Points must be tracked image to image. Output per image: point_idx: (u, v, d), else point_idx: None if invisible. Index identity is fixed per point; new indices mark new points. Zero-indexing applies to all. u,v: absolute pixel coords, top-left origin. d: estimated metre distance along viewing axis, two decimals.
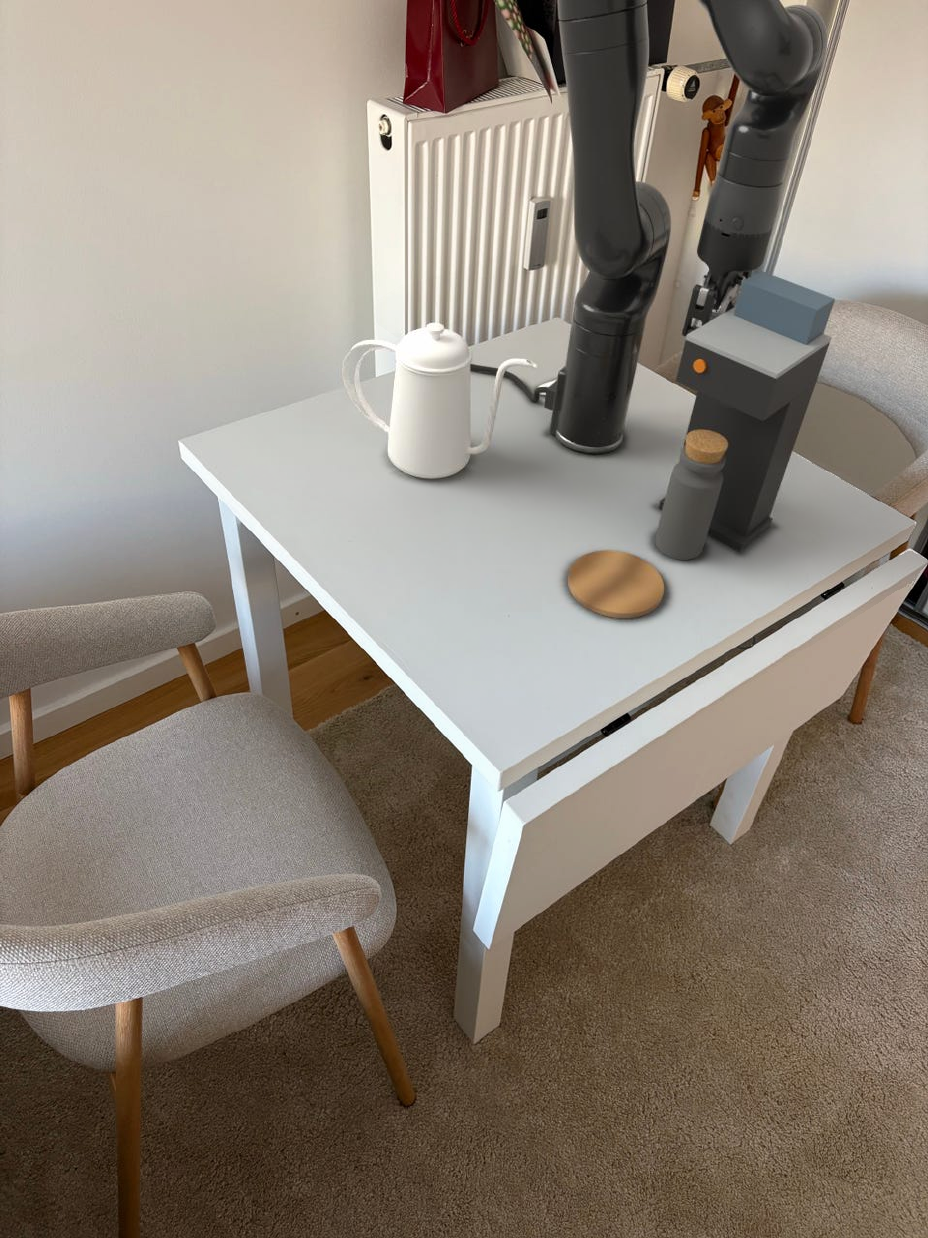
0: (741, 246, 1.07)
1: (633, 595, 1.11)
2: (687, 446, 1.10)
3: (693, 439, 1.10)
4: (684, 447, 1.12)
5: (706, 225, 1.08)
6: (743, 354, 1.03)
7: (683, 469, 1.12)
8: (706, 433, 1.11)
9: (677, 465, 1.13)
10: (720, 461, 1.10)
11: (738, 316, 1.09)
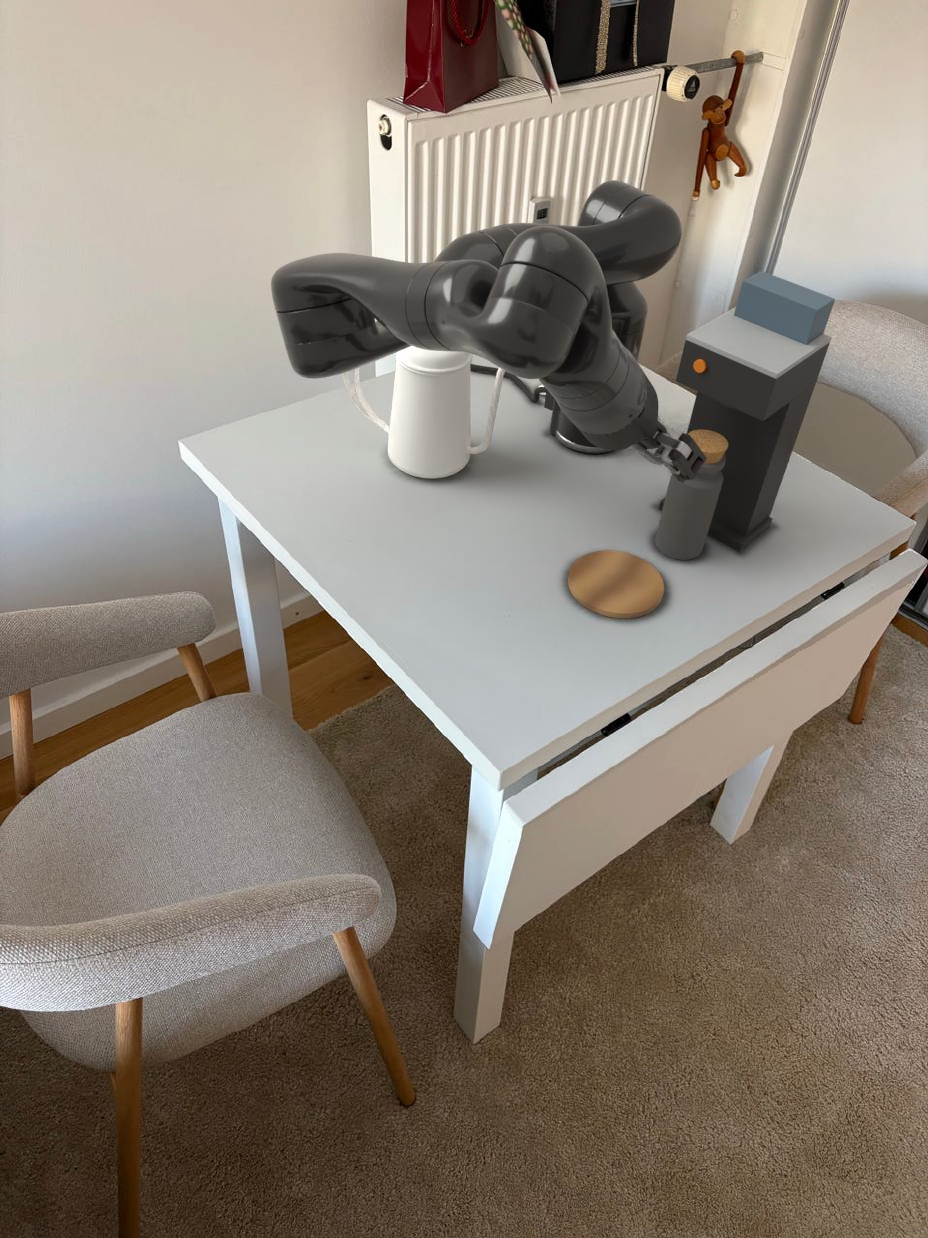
0: (651, 396, 0.86)
1: (633, 595, 1.11)
2: None
3: None
4: None
5: (614, 434, 0.86)
6: (743, 354, 1.03)
7: None
8: (706, 433, 1.11)
9: None
10: (720, 461, 1.10)
11: (738, 316, 1.09)
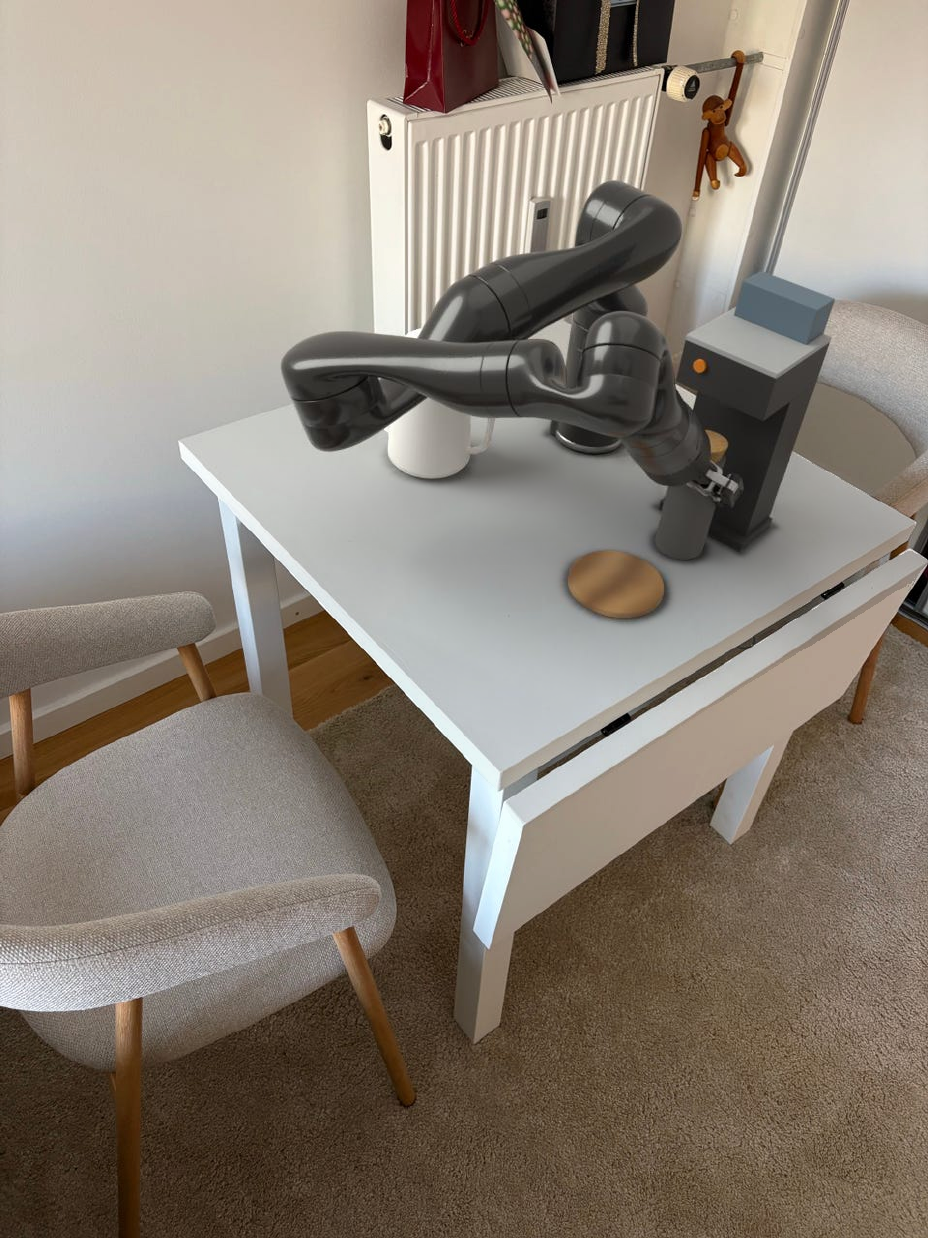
0: (705, 441, 1.01)
1: (633, 595, 1.11)
2: None
3: None
4: None
5: (674, 474, 1.01)
6: (743, 354, 1.03)
7: None
8: None
9: None
10: (720, 461, 1.10)
11: (738, 316, 1.09)
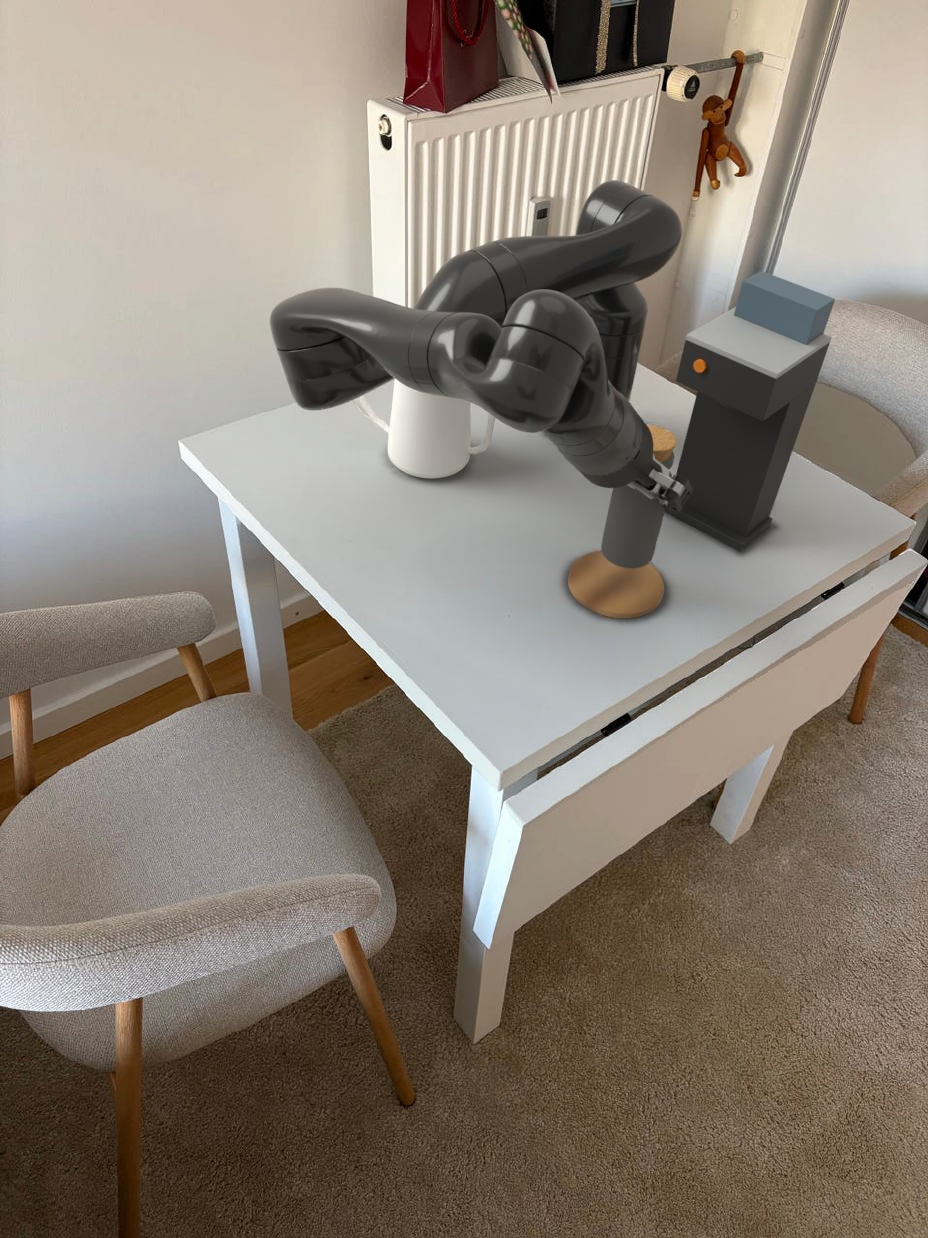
0: (646, 438, 0.90)
1: (633, 595, 1.11)
2: None
3: None
4: None
5: (611, 475, 0.90)
6: (743, 354, 1.03)
7: None
8: (652, 429, 1.00)
9: None
10: (667, 460, 1.00)
11: (738, 316, 1.09)
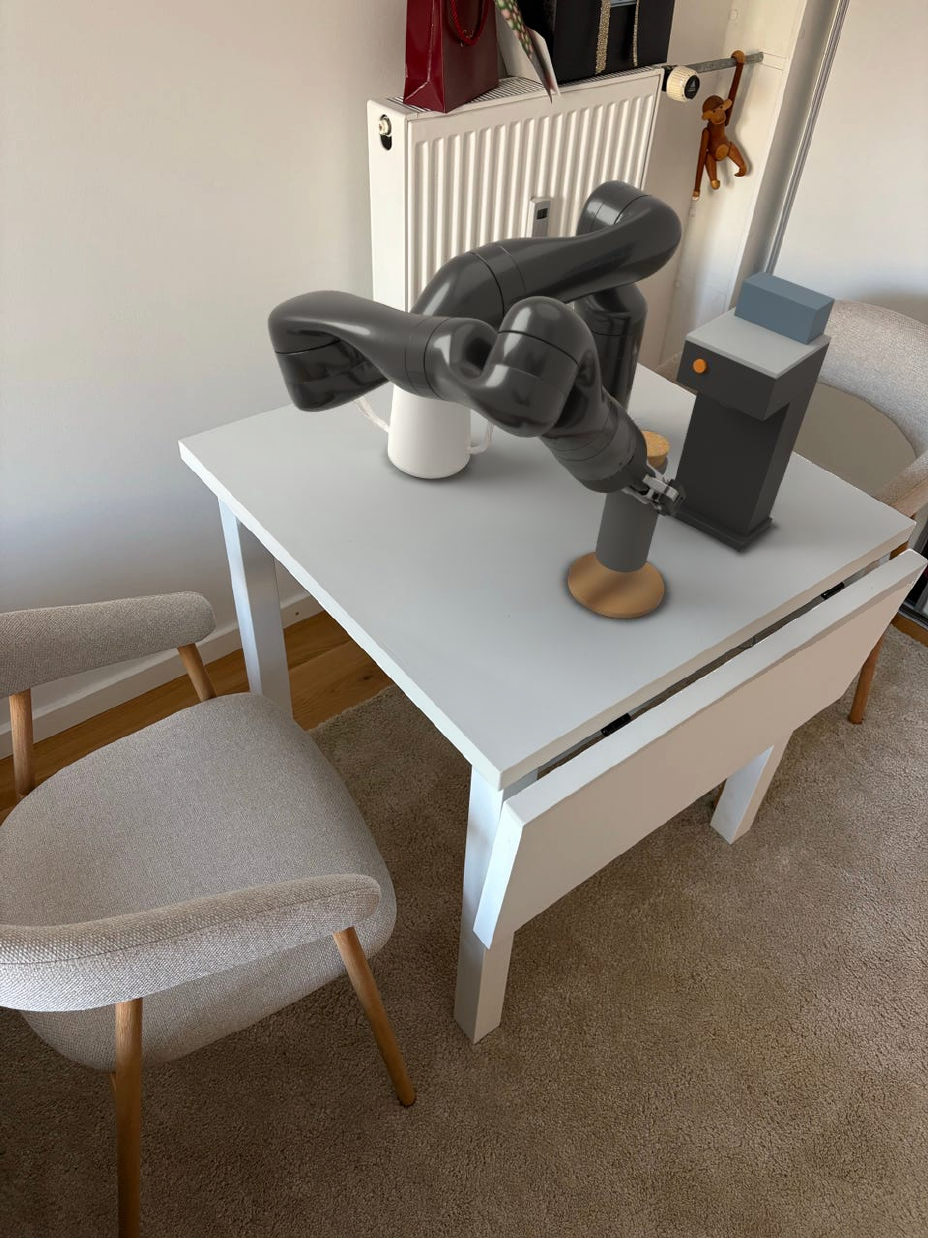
0: (640, 443, 0.91)
1: (633, 595, 1.11)
2: None
3: None
4: None
5: (605, 480, 0.91)
6: (743, 354, 1.03)
7: None
8: (646, 435, 1.01)
9: None
10: (661, 465, 1.01)
11: (738, 316, 1.09)
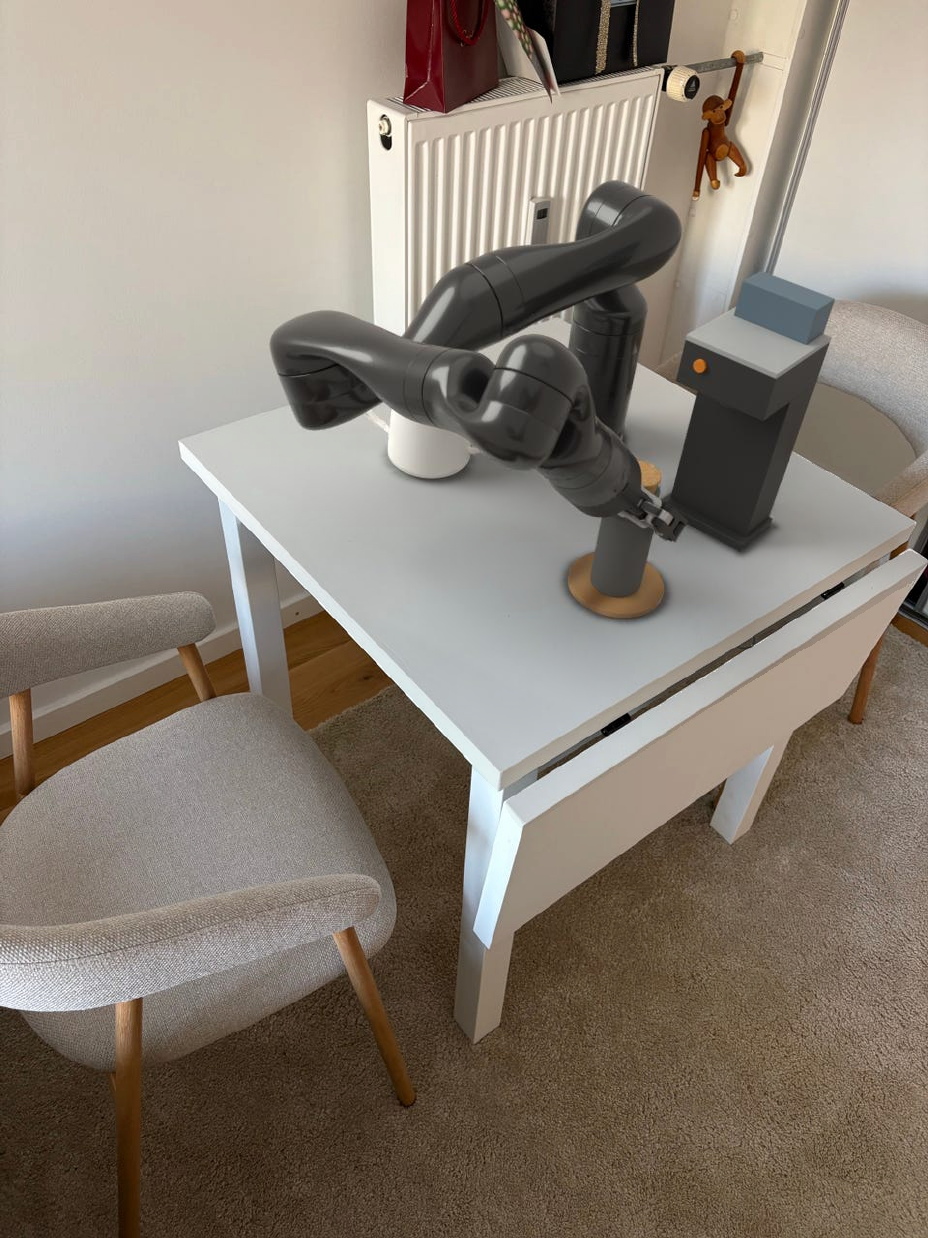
0: (634, 470, 0.93)
1: (633, 595, 1.11)
2: None
3: None
4: None
5: (600, 506, 0.93)
6: (743, 354, 1.03)
7: None
8: None
9: None
10: None
11: (738, 316, 1.09)
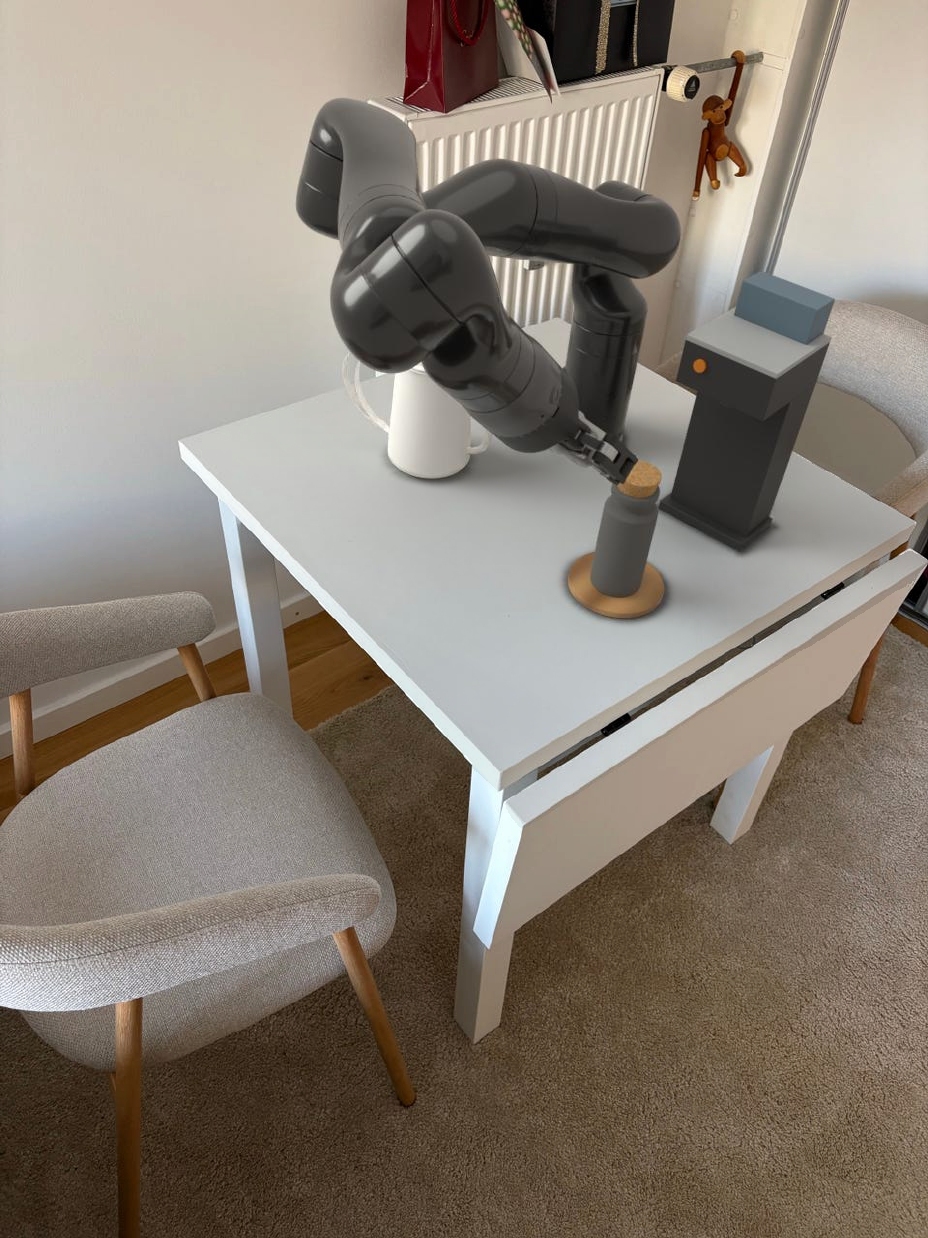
0: (567, 392, 0.77)
1: (633, 595, 1.11)
2: None
3: None
4: None
5: (526, 436, 0.77)
6: (743, 354, 1.03)
7: (615, 502, 1.05)
8: (639, 465, 1.04)
9: (609, 498, 1.06)
10: (653, 495, 1.03)
11: (738, 316, 1.09)
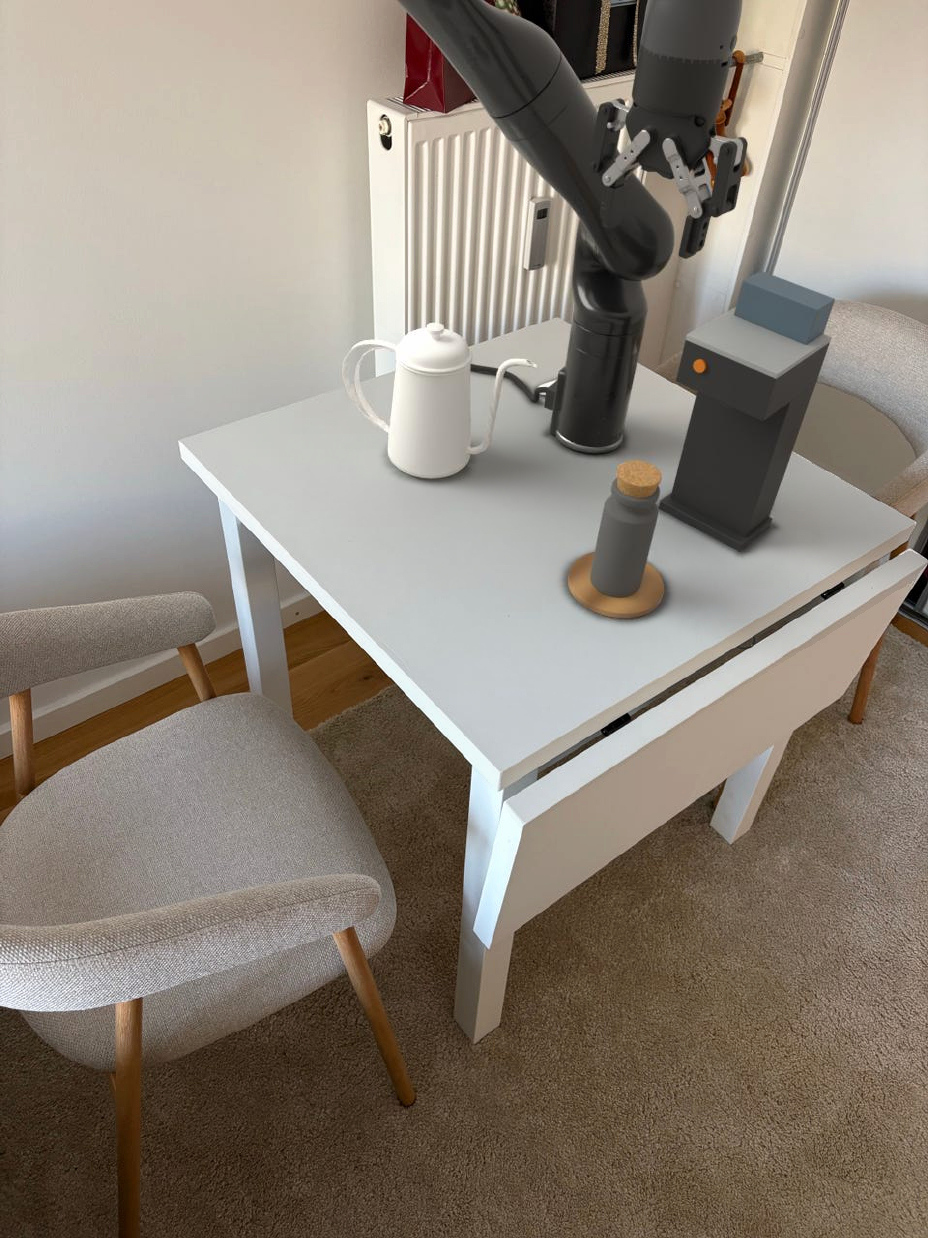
0: (728, 71, 0.81)
1: (633, 595, 1.11)
2: (618, 479, 1.03)
3: (624, 471, 1.03)
4: (616, 479, 1.05)
5: (694, 66, 0.78)
6: (743, 354, 1.03)
7: (615, 502, 1.05)
8: (639, 465, 1.04)
9: (609, 498, 1.06)
10: (653, 495, 1.03)
11: (738, 316, 1.09)
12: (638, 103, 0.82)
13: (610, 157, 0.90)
